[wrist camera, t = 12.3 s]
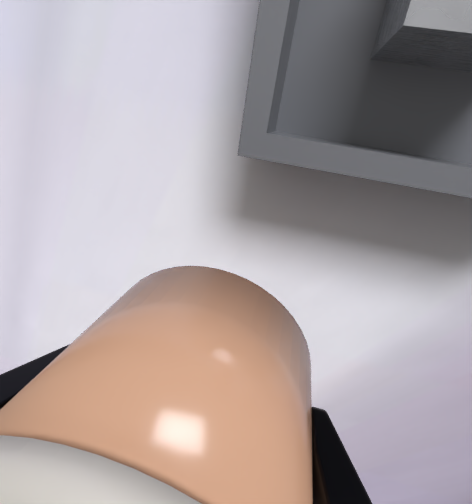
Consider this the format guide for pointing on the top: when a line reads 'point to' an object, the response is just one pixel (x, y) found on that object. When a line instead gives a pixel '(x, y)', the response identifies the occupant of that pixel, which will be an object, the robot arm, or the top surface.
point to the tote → (353, 100)
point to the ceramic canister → (169, 403)
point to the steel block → (426, 34)
